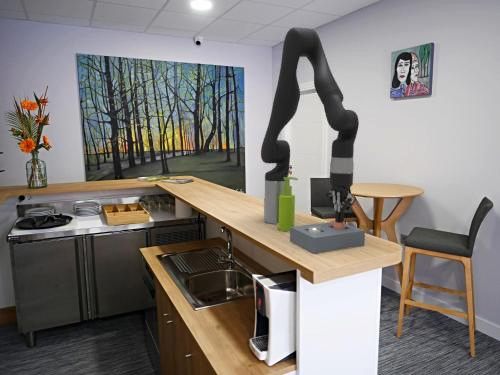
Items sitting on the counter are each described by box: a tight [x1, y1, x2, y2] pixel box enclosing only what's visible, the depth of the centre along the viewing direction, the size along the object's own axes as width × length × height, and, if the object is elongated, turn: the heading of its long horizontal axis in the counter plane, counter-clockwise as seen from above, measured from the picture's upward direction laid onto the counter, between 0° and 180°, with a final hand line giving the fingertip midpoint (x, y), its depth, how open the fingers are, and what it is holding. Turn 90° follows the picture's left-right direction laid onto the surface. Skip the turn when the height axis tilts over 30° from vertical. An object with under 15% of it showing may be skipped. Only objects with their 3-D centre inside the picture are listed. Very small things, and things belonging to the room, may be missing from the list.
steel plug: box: [308, 226, 321, 233], centre depth 122 cm, size 4×4×5 cm
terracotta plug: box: [332, 220, 346, 230], centre depth 126 cm, size 4×4×5 cm
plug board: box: [289, 221, 366, 255], centre depth 124 cm, size 14×20×5 cm
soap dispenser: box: [278, 176, 299, 233], centre depth 139 cm, size 6×7×20 cm
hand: (339, 222), depth 125 cm, fingers closed
